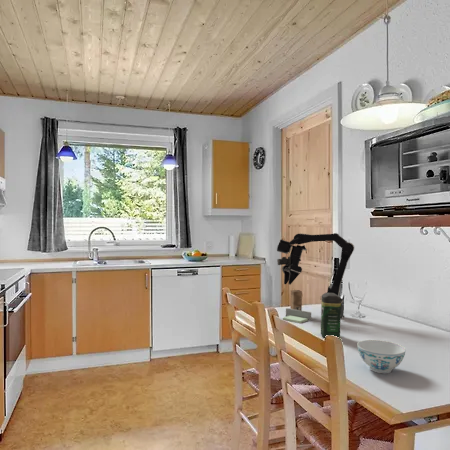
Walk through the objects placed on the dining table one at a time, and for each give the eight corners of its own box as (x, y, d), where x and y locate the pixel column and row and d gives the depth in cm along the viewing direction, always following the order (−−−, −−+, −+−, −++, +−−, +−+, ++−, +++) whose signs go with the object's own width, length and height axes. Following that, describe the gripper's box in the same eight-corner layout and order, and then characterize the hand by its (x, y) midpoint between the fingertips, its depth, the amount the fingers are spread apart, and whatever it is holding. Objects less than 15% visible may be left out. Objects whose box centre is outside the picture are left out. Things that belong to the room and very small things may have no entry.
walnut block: (298, 314, 213) (298, 289, 213) (301, 316, 209) (302, 291, 209) (290, 314, 213) (290, 290, 212) (293, 316, 208) (293, 291, 208)
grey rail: (311, 320, 201) (311, 312, 201) (310, 320, 200) (310, 312, 200) (287, 315, 210) (287, 308, 210) (285, 316, 209) (285, 308, 209)
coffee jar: (342, 340, 167) (342, 295, 167) (322, 339, 168) (323, 294, 168) (337, 333, 177) (338, 291, 177) (319, 333, 178) (320, 291, 177)
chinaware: (348, 369, 134) (348, 345, 134) (369, 358, 144) (369, 337, 144) (393, 382, 123) (394, 357, 123) (412, 370, 134) (412, 347, 134)
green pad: (307, 320, 200) (307, 318, 200) (300, 323, 194) (300, 321, 194) (290, 317, 206) (290, 315, 206) (282, 319, 201) (282, 317, 201)
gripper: (277, 252, 224) (269, 279, 222) (285, 250, 206) (276, 279, 204) (295, 258, 225) (288, 285, 223) (305, 257, 207) (297, 286, 204)
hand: (287, 284), depth 213 cm, fingers open, 9 cm apart
